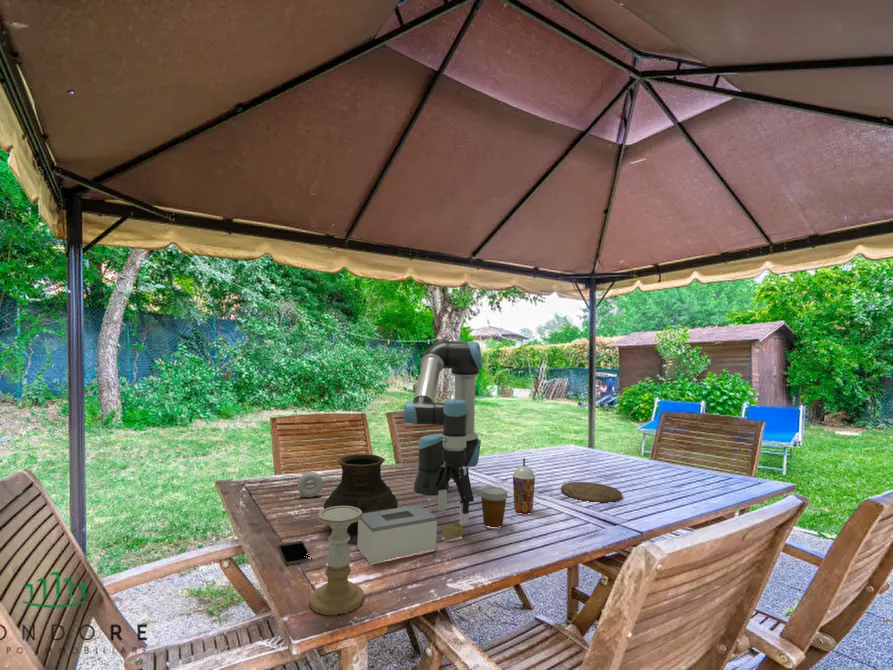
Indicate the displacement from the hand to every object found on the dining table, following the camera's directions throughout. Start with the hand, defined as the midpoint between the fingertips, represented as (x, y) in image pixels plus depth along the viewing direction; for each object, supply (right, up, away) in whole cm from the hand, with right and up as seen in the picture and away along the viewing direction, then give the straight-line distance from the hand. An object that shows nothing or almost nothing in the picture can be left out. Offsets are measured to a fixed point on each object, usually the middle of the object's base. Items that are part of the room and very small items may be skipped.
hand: (452, 516), depth 140 cm
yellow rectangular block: (0, -7, 0) cm, 7 cm away
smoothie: (+27, -9, +25) cm, 38 cm away
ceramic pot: (-31, -7, +7) cm, 32 cm away
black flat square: (-46, -6, -13) cm, 48 cm away
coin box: (-17, -6, -9) cm, 20 cm away
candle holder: (-27, -5, -37) cm, 46 cm away
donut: (-57, -8, +37) cm, 68 cm away
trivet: (+60, -12, +51) cm, 80 cm away
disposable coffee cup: (+14, -8, +11) cm, 20 cm away
